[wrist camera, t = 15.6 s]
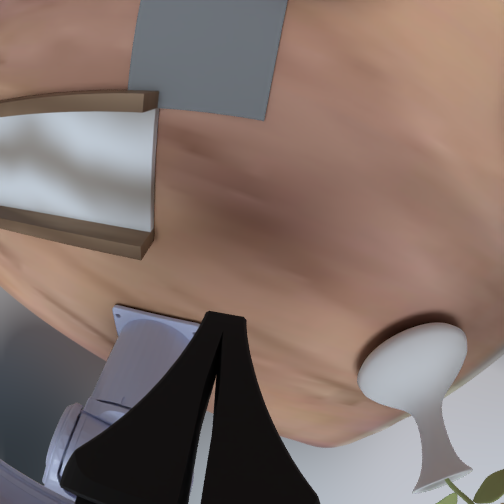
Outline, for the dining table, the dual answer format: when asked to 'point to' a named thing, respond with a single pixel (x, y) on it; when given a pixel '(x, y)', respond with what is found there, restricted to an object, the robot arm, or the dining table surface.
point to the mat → (208, 54)
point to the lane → (81, 168)
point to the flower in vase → (426, 400)
